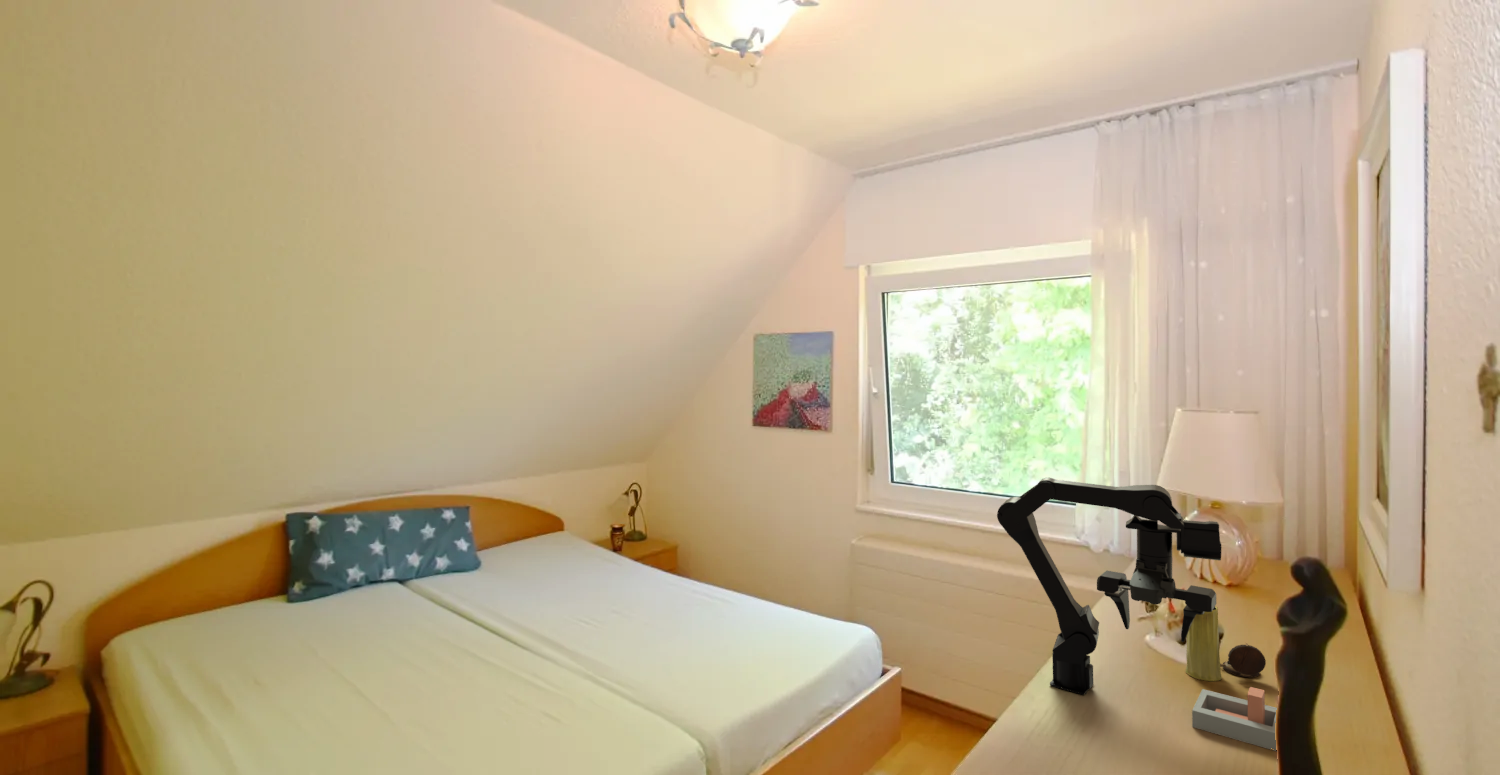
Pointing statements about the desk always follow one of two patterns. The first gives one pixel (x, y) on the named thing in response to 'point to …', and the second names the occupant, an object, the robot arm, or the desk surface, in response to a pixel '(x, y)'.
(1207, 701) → the well block
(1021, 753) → the desk surface
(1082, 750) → the desk surface
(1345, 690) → the desk surface
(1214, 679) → the vase
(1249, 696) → the bracket
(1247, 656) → the compass
